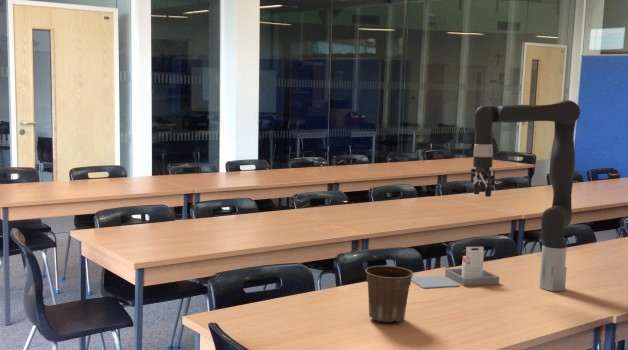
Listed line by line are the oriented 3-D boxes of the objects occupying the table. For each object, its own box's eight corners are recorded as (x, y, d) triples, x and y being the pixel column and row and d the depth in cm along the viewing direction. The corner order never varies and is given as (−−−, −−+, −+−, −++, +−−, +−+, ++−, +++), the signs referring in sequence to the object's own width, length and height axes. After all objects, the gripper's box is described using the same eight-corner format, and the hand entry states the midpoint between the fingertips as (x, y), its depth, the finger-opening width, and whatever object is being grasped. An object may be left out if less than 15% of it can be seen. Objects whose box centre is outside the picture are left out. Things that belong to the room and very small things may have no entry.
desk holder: (498, 284, 289) (499, 276, 289) (463, 286, 284) (464, 278, 284) (478, 274, 304) (479, 267, 304) (445, 275, 299) (445, 269, 299)
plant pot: (414, 312, 248) (416, 267, 246) (407, 327, 232) (409, 279, 230) (368, 307, 252) (370, 263, 250) (359, 321, 237) (360, 274, 235)
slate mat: (459, 286, 284) (459, 285, 284) (423, 288, 279) (423, 287, 279) (440, 276, 299) (440, 275, 299) (406, 278, 294) (406, 276, 294)
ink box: (461, 279, 295) (462, 244, 294) (479, 278, 296) (481, 244, 295) (463, 281, 292) (465, 246, 290) (482, 281, 293) (484, 246, 291)
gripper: (501, 156, 280) (500, 197, 281) (481, 154, 293) (480, 193, 295) (484, 156, 277) (483, 197, 279) (465, 154, 291) (464, 193, 292)
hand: (482, 195), depth 287 cm, fingers open, 8 cm apart
